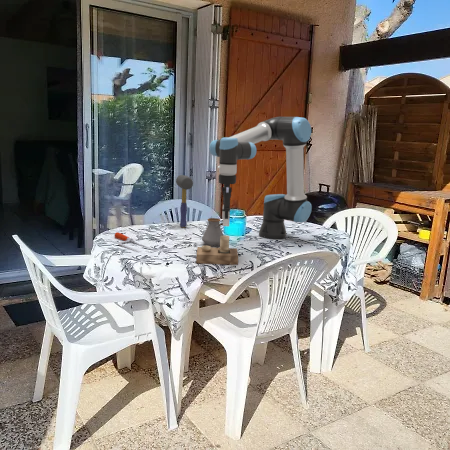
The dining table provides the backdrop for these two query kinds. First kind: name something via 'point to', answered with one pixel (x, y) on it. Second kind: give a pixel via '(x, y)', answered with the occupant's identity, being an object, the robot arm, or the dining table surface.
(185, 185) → the rubber mallet
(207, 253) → the wooden block with hole
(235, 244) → the dining table surface
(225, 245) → the beech dowel
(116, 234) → the hand saw
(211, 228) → the coffee pot
